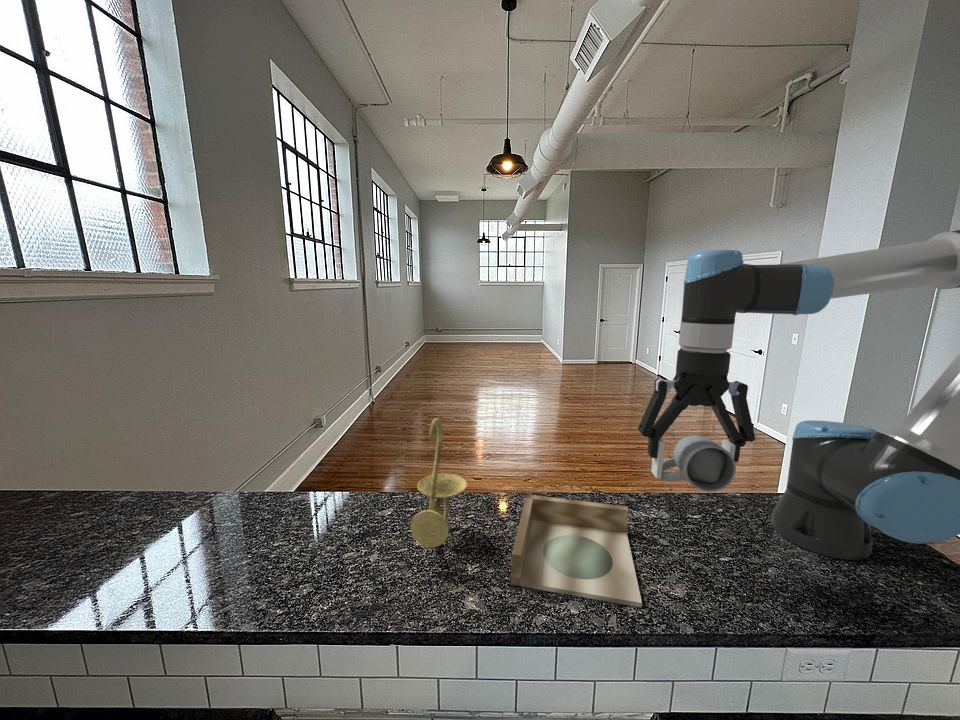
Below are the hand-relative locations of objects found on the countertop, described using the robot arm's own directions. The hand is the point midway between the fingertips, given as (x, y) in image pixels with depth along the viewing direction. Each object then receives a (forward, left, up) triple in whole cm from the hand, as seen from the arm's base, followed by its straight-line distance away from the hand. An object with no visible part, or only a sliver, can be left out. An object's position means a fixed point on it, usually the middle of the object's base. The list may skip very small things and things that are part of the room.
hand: (689, 477), depth 68 cm
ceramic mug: (0, 0, -1) cm, 1 cm away
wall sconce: (+44, +5, -16) cm, 47 cm away
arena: (+19, +3, -16) cm, 25 cm away
